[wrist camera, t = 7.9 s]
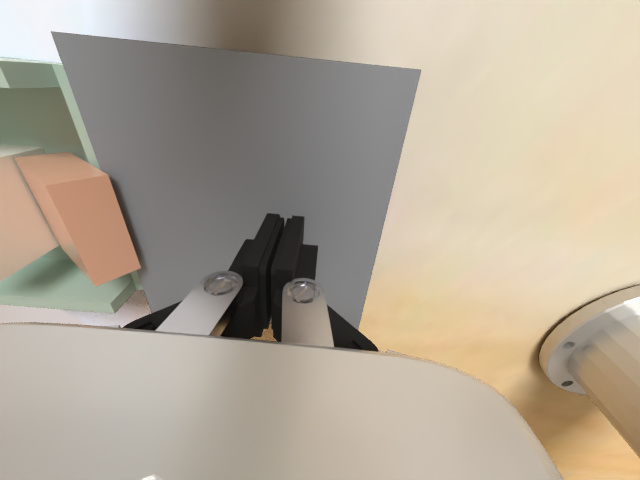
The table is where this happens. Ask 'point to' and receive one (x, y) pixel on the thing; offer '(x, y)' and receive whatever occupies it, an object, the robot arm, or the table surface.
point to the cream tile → (20, 215)
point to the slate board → (241, 155)
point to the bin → (55, 137)
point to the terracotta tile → (81, 214)
